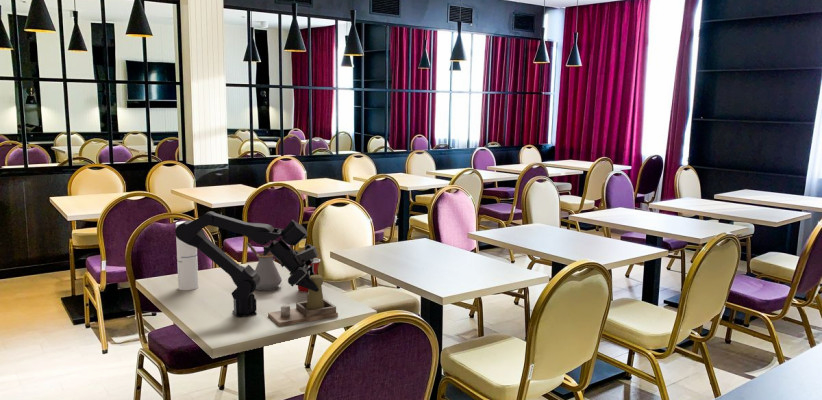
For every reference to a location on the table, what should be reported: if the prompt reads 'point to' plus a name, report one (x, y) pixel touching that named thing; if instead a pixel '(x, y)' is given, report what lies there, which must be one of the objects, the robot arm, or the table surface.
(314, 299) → the cork
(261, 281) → the coffee pot
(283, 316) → the cruet holder
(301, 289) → the plastic cup
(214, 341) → the table surface
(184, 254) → the cylindrical container
